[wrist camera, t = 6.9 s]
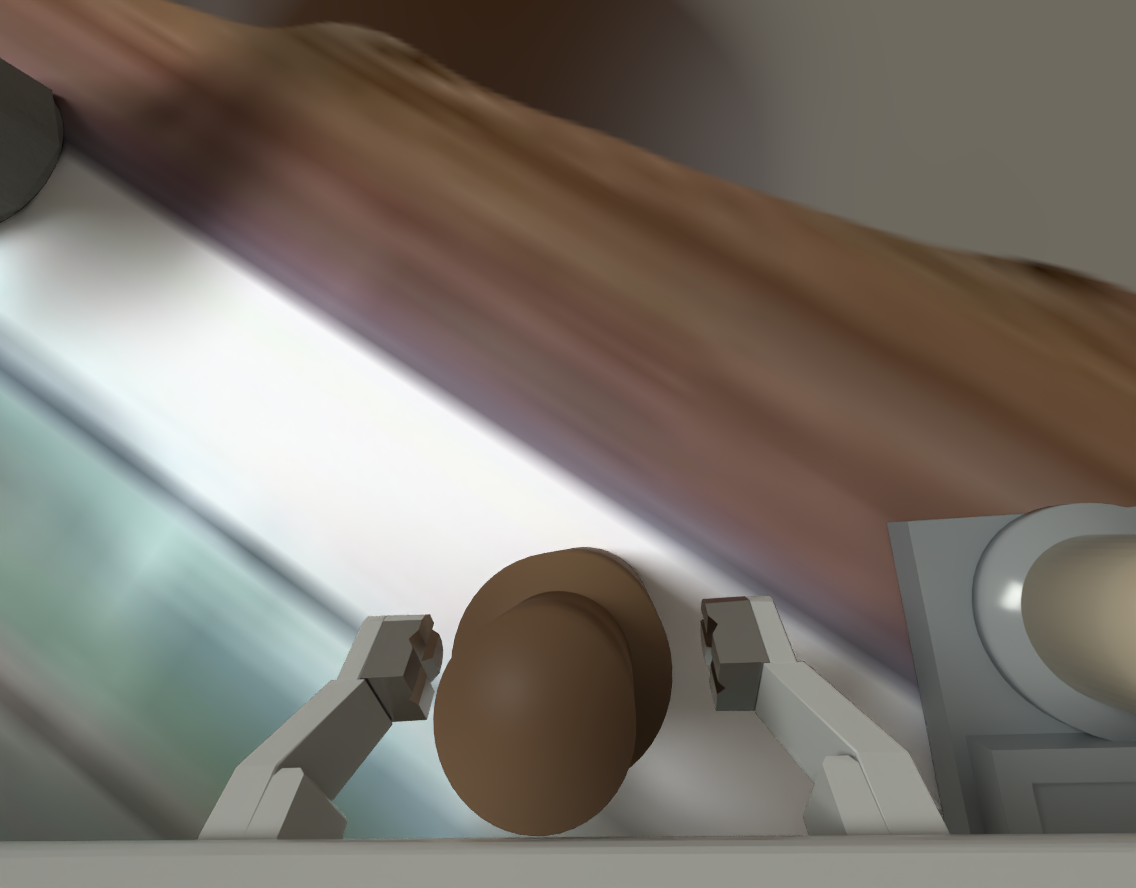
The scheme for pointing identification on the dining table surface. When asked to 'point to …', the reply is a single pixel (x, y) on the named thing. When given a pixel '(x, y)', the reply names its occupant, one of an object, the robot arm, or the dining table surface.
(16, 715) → the dining table surface
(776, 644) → the robot arm
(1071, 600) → the cruet stand
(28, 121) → the coffeepot
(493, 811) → the pepper mill
